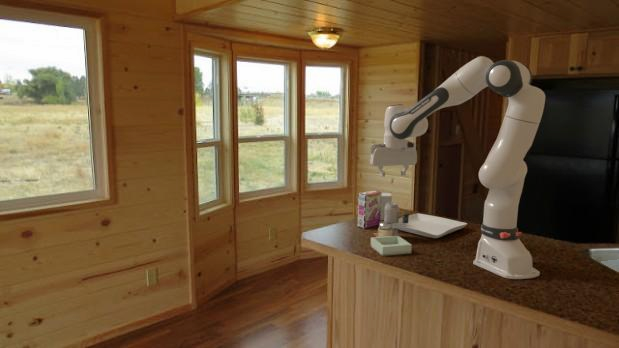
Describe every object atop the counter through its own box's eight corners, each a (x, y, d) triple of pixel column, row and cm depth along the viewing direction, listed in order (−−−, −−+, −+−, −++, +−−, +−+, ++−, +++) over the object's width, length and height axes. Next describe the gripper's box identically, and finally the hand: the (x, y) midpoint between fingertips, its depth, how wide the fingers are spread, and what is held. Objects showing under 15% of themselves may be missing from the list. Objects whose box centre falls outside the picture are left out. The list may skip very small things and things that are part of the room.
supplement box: (389, 216, 219) (390, 192, 217) (391, 220, 211) (392, 195, 209) (375, 216, 219) (376, 192, 217) (376, 220, 212) (376, 195, 210)
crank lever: (381, 230, 176) (382, 216, 175) (377, 226, 180) (377, 213, 180) (411, 228, 178) (411, 214, 177) (406, 225, 183) (406, 211, 182)
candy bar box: (364, 229, 197) (365, 194, 194) (356, 227, 200) (357, 192, 198) (380, 225, 204) (381, 191, 201) (372, 222, 207) (373, 189, 205)
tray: (411, 253, 165) (411, 244, 165) (382, 255, 162) (382, 247, 162) (397, 243, 177) (398, 235, 176) (370, 245, 174) (370, 237, 173)
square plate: (468, 230, 197) (468, 222, 196) (437, 243, 178) (437, 234, 178) (417, 219, 216) (417, 211, 216) (384, 229, 198) (384, 221, 197)
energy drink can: (397, 239, 182) (399, 205, 180) (383, 238, 183) (384, 204, 181) (397, 235, 188) (399, 202, 185) (384, 234, 189) (385, 201, 187)
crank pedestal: (394, 243, 177) (394, 230, 176) (381, 244, 176) (381, 231, 175) (381, 233, 191) (381, 221, 190) (368, 234, 189) (368, 222, 188)
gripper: (374, 144, 173) (373, 178, 176) (419, 143, 178) (418, 176, 180) (368, 143, 179) (367, 175, 182) (412, 142, 184) (411, 173, 186)
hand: (392, 175), depth 181 cm, fingers open, 8 cm apart
